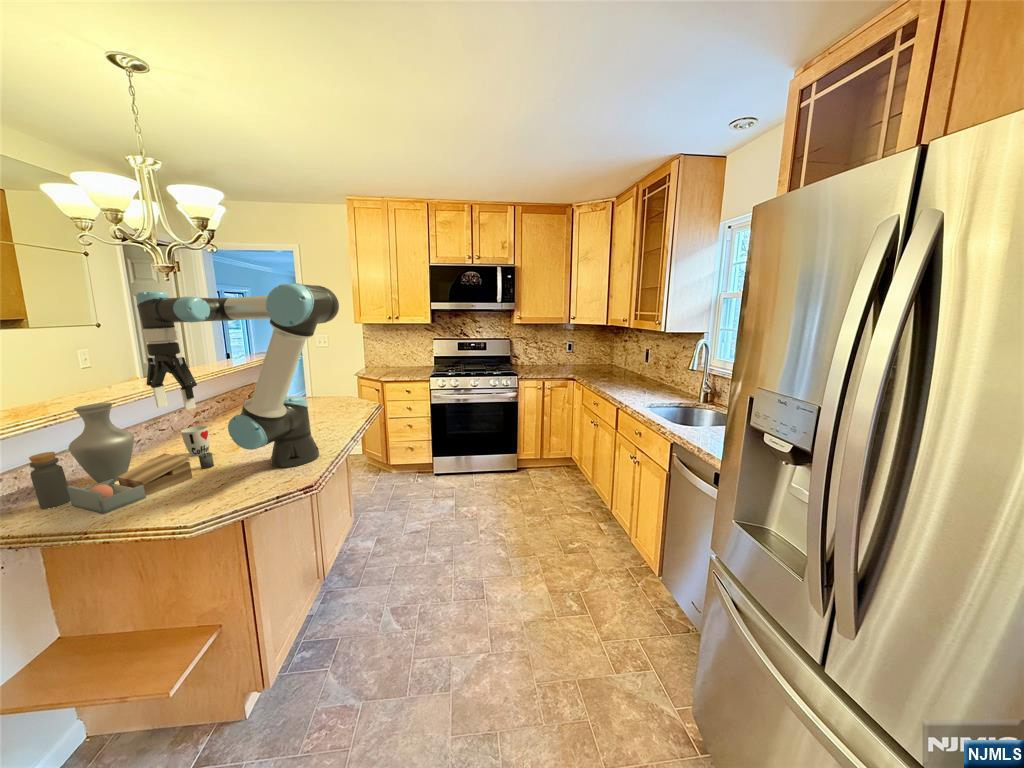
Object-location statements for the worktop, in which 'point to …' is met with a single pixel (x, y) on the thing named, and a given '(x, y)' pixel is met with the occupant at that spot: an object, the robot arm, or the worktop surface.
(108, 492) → the ball
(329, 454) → the worktop surface
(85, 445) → the vase
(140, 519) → the worktop surface
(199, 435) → the cup
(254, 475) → the worktop surface
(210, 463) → the tee
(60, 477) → the bottle
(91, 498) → the bin
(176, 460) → the ramp
